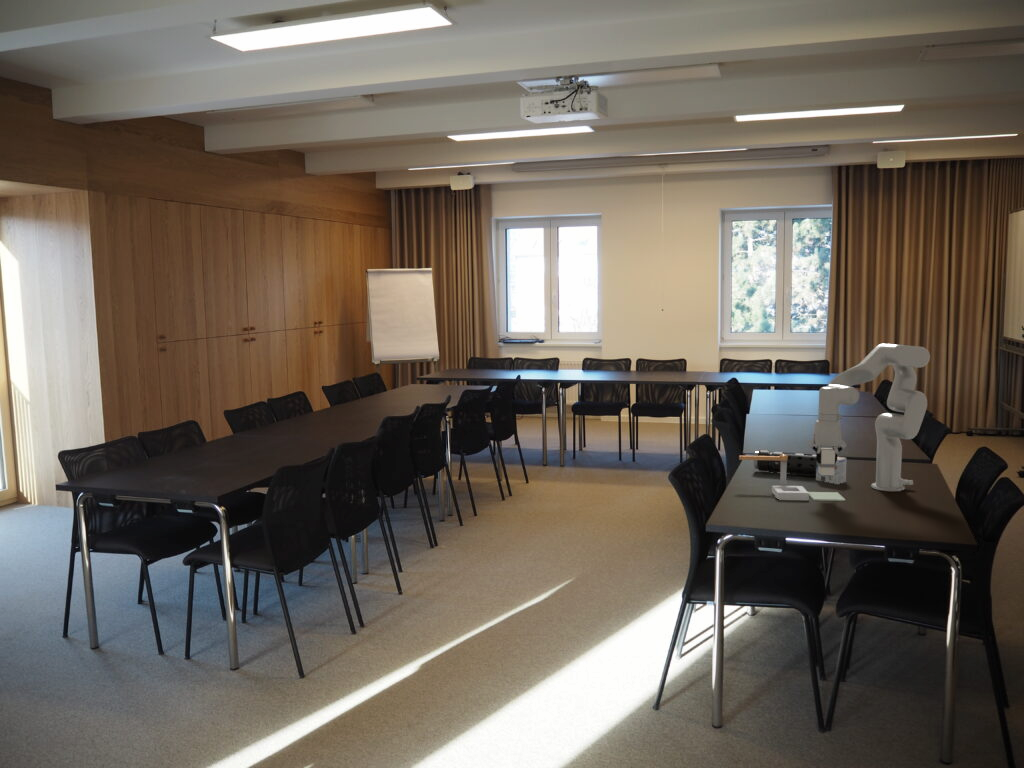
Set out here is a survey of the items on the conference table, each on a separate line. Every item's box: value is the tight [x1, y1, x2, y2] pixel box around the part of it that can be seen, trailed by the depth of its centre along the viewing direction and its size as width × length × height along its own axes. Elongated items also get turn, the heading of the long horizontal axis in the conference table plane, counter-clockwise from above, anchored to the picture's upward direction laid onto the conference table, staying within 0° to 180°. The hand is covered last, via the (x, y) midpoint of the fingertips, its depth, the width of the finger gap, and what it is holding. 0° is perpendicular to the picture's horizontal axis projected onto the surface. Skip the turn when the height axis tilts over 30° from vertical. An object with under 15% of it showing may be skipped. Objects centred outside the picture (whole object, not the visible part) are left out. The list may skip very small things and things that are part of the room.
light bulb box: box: [815, 456, 847, 485], centre depth 368 cm, size 11×7×11 cm, turn 40°
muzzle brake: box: [753, 449, 817, 477], centre depth 383 cm, size 10×28×10 cm, turn 63°
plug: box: [817, 447, 836, 475], centre depth 340 cm, size 6×6×10 cm
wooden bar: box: [738, 455, 788, 461], centre depth 356 cm, size 20×3×2 cm, turn 81°
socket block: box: [771, 461, 810, 501], centre depth 347 cm, size 12×22×12 cm, turn 173°
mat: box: [807, 491, 846, 502], centre depth 341 cm, size 12×12×1 cm
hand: (826, 462), depth 340 cm, fingers closed on plug, 5 cm apart
